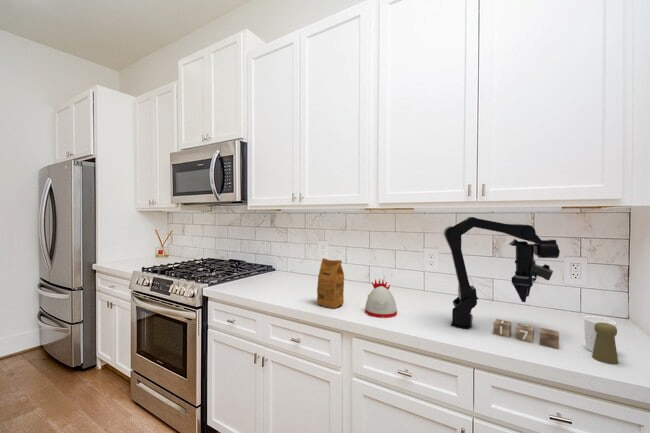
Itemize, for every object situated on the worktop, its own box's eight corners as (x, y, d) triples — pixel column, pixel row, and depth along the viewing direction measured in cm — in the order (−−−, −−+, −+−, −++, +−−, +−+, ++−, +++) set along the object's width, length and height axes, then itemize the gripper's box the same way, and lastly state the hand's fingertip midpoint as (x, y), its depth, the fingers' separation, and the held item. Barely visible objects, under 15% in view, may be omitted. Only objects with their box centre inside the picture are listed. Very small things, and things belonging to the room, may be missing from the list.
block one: (493, 334, 113) (493, 322, 113) (496, 330, 117) (496, 318, 117) (508, 338, 110) (509, 325, 110) (511, 333, 114) (511, 321, 114)
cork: (605, 354, 98) (605, 320, 98) (624, 364, 92) (625, 327, 91) (586, 354, 97) (587, 320, 97) (604, 364, 91) (605, 327, 91)
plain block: (539, 345, 105) (539, 332, 104) (540, 340, 108) (541, 327, 108) (558, 349, 101) (558, 336, 101) (558, 344, 105) (558, 331, 105)
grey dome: (365, 307, 145) (366, 275, 144) (395, 308, 142) (396, 276, 142) (364, 316, 131) (364, 281, 131) (397, 319, 129) (398, 283, 128)
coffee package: (326, 300, 155) (326, 256, 155) (346, 305, 147) (347, 259, 147) (313, 304, 147) (313, 258, 147) (333, 310, 139) (334, 261, 139)
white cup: (620, 358, 96) (621, 326, 95) (589, 353, 98) (590, 322, 98) (608, 347, 103) (609, 318, 103) (579, 343, 106) (580, 314, 106)
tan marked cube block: (515, 339, 109) (515, 326, 109) (517, 335, 113) (517, 322, 113) (532, 343, 106) (532, 330, 106) (533, 338, 110) (534, 326, 110)
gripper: (549, 262, 103) (550, 309, 103) (552, 256, 118) (553, 297, 118) (510, 260, 110) (511, 303, 111) (518, 254, 125) (519, 292, 125)
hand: (525, 299), depth 116 cm, fingers open, 9 cm apart
